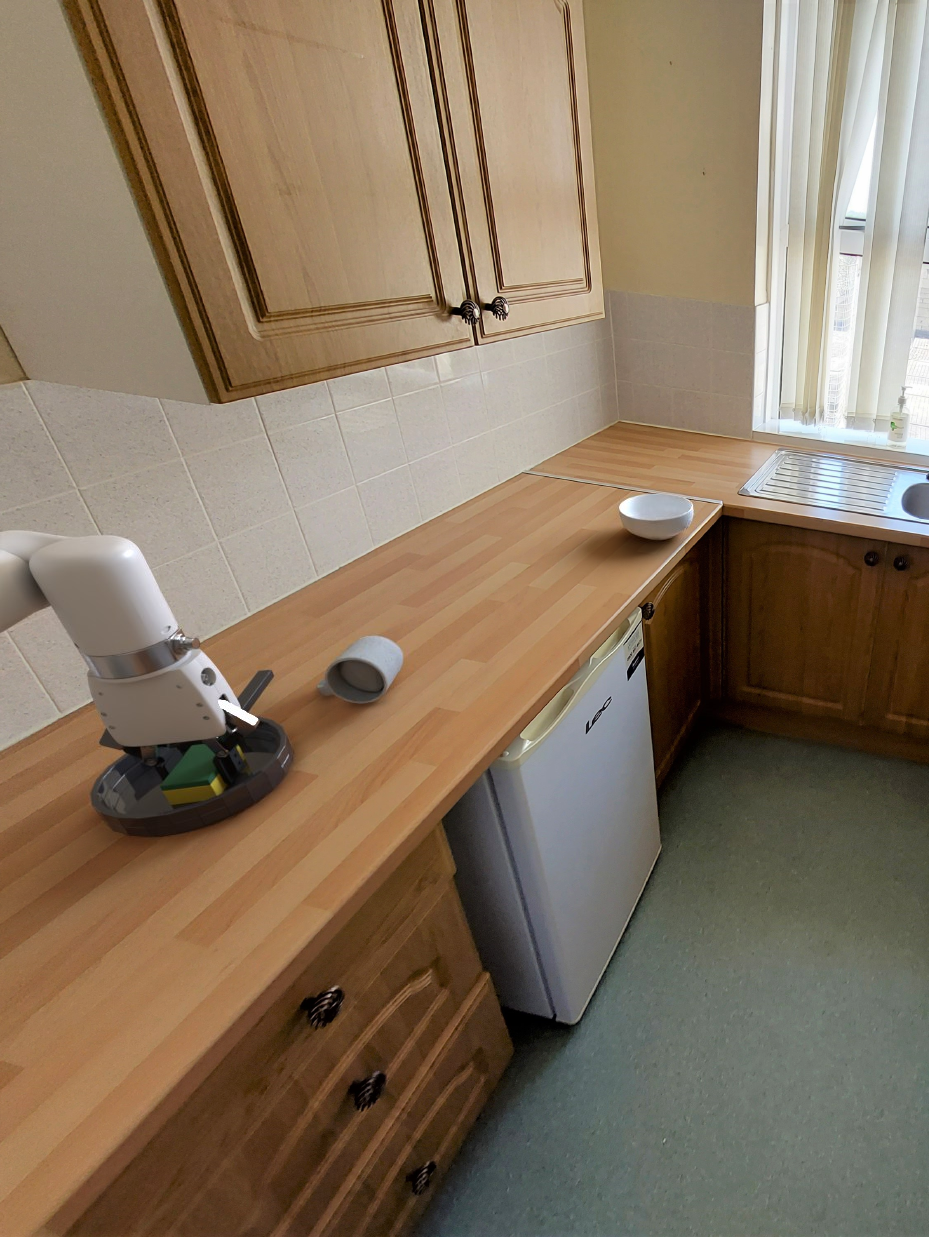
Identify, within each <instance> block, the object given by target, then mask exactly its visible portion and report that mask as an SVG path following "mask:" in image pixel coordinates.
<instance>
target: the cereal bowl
mask: <svg viewBox="0 0 929 1237" xmlns="http://www.w3.org/2000/svg"><path fill="white" fill-rule="evenodd" d="M618 514H619V518H620V522H621V524H622V525H623V527H624V528H625V529H626V530H627V531H629V532H630V533H631V534H633V535H635V536H637V537H641V538H645V539H646V540H650V541H651V540H652V541H663V540H669V539H671V538H673V537H675V536H677V535H679V534H681V533H682V532H685V531H686V530H687V529H688V528H689V527H690V526H691V524H692V522H693V519H694V518H693V517H694V505H693V502H692V501H691V500H689V499H688V498H686V497H683V496H680V495H676V494H669V493H645V494H640V495H635V496H631V497H628V498H627V499H625V500H623V501H622V502H621V503H620V504H619V506H618Z"/></svg>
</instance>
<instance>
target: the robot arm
mask: <svg viewBox="0 0 929 1237" xmlns="http://www.w3.org/2000/svg"><path fill="white" fill-rule="evenodd" d="M147 562H148V561H147V560H146V558H145V556H144V554H143V553H142V551H141V549H140V548H139V547H138V545H137V544H135V542H133V540H130V539H128V538H126V537H123V536H118V535H113V534H96V535H95V534H94V535H93V534H92V535H84V536H75V537H73V536H65V535H58V534H52V533H46V532H39V531H31V530H22V529H21V530H20V529H19V530H18V529H16V530H15V529H11V530H3V531H0V634H2V633H3V632H5V631H7V630H8V629H10V628H11V627H13V626H15V625H16V624H19V623H20V622H22V621H23V620H26V619H27V618H29V617H30V616H32V615H33V614H35V613H37V612H40V611H42V610H44V609H46V608H47V609H48V608H49V607H51V608H52V610H53V612H54V613H55V615H56V616H57V619H58V620H59V622H60V623H61V625H62V627H63V628H64V629H65V632H66V633H67V635H68V636H69V638H70V640H71V641H72V644H73V645H74V646H75V648H76V649H77V651H78V653H79V654H80V656H81V658H82V659H83V662H85V664H86V666H87V667H88V669H89V670H88V671H87V673H86V677H87V678H86V679H87V684H88V688H89V692H90V695H91V698H92V701H93V704H94V706H95V709H96V711H97V713H98V716H99V717H100V718H101V721H102V723H103V724H104V726H105V729H104V731H103V733H102V735H101V737H100V739H99V742H98V743H99V745H100V746H102V747H106V748H109V749H113V750H117V751H123V752H124V754H125V753H127V754H129V755H132V756H135V757H138V758H141V759H143V762H144V764H146V765H149V766H154V767H155V769H156V770H157V772H158V774H159V775H160V777H161V779H162V780H163V781H164V780H165V779H166V778H167V776H168V775H169V774H170V773H171V771H172V770H173V769H174V767H175V766H176V765H177V764H178V762H179V761H180V760H181V759H182V757H183V756H182V754H181V752H180V751H179V750H178V749H177V748H170V743H176V742H185V741H194V740H201V741H202V742H203V743H204V744H205V745H206V746H207V747H208V748H209V749H210V750H211V751H212V752H213V753H214V754H215V757H214V758H213V763H214V765H215V767H216V769H217V770H218V772H219V774H220V775H221V777H222V779H223V781H224V783H226V784H229V783H233V782H234V780H235V779H236V777H237V776H238V774H239V773H240V772H241V771H242V769H243V768H244V761H243V759H242V757H241V755H240V753H239V751H238V749H237V747H236V745H237V744H238V743H239V742H240V740H241V739H242V738H244V737H246V736H247V735H248V734H250V733H251V732H252V731H254V730H255V729H256V727H257V726H258V724H259V723H260V720H259V719H258V718H256V717H254V716H255V715H252V714H250V713H249V712H248V713H247V712H245V711H243V710H241V707H240V704H239V702H238V700H237V698H238V697H237V696H236V695H235V692H234V691H233V690H232V688H231V686H230V685H229V683H228V681H227V679H226V678H225V676H224V675H223V674H222V673H221V671H220V670H219V668H218V667H217V666H216V664H214V662H213V661H212V660H211V659H210V658H209V657H208V655H207V654H206V653H205V652H204V651H203V650H202V649H200V647H201V641H200V639H199V638H198V637H196V636H193V637H189V636H186V635H185V633H184V631H183V629H182V628H181V627H180V626H179V624H178V622H177V620H176V617H175V616H174V613H173V612H172V611H171V610H172V609H171V608H170V606H169V604H168V602H167V600H166V598H165V596H164V594H163V592H162V590H161V588H160V585H159V584H158V582H157V580H156V577H155V576H154V574H153V571H152V570H151V568H150V566H149V564H148V563H147ZM226 721H228V722H230V723H232V724H234V725H236V726H237V727H235V728H234V729H233V730H231V729H230V728H229V727H228V726H227V725H226V724H225V723H226ZM218 736H219V737H220V738H221V739H222V740H223V741H221V740H220V739H219V738H218Z"/></svg>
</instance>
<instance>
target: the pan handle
mask: <svg viewBox="0 0 929 1237" xmlns="http://www.w3.org/2000/svg"><path fill="white" fill-rule="evenodd" d="M274 678H275V675H274V672H273V669H262V670H258V671H257V672H255V675H254V676H253V677H252V679H251V680H250V681H249V682H248V684H247V685H246V686H245V687H244V689H243V690H242V692H240V694H239V695H238V697H236V698H237V700H238V702H239V704H240V707H241V710H243V711H245V712H247V713H249V712H250V711H251V709H253V706H254V705H255V704H256V703H257V701H258V700H259V698H260V697H261V695H262V694H263V693H264V691H265V690H266V688H268V686H269V684H270V683H271V682H272V680H273V679H274Z"/></svg>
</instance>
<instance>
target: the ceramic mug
mask: <svg viewBox="0 0 929 1237" xmlns="http://www.w3.org/2000/svg"><path fill="white" fill-rule="evenodd" d="M403 663H404V653H403V650H402V649H401V647H400V646H399V645H398V643H396V642H395V641H394V640H392V639H390V638H388V637H386V636H382V635H375V634H373V635H366V636H362V637H360V638H358V639H357V640H354V641H353V642H352V643H351V644H349V645H348V646H347V648H346V649H345V650H344V651H343V652H342V653H341V654H339V656H337V658H335V659H334V660H333V661H332V662H331V663H330V664H329V666H328V667H327V668H326V671H325V674H324V678H323V679H321V680H320V682H319V683H318V684H317V686H316V689H317V690H318V692H320V693H321V695H323V696H325V697H327V696H332V695H334V696H336V698H339V699H341V700H342V701H345V702H348V703H353V704H359V705H362V704H370V703H373V702H376V701H379V699H381V698H382V697H383V696H384V695H385V694H386V693H387V691H388V689H389V687H391V685H392V683H393V682H394V680H395V679H396V676H397V675H398V674H399V672H400V671H401V669H402V666H403Z"/></svg>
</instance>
